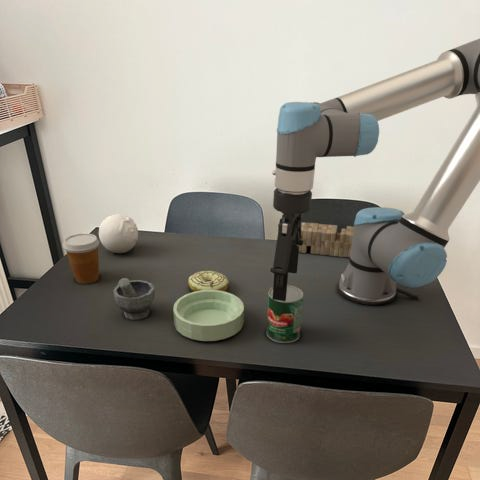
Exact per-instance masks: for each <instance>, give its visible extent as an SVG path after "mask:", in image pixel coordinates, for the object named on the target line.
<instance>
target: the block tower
mask: <svg viewBox="0 0 480 480" xmlns="http://www.w3.org/2000/svg"><path fill="white" fill-rule="evenodd" d="M353 231H354V226H351V225H347V226H346V228H341V230H340V232H338V224H325V223H324V224H323V223H318V222H316V223H315V222H304V221H303V222H302V224H301V236H302V238H301V240H303V245H297V246H299V254H301V253H302V254H306V253H307V252H308V249H309V247H310V254H312V255H320V256H330V257H339V258H349V259H350V252H351V245H352V238H353Z"/></svg>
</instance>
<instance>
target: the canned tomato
mask: <svg viewBox="0 0 480 480" xmlns="http://www.w3.org/2000/svg"><path fill="white" fill-rule="evenodd" d="M267 299H268V300H267V310H266V311H267V314H266V315H267V316H266V332H265V333H266V337H268V339H270V340H271V341H273V342H275V343H280V344H291V343H295V342H296V341H297V340H299V338H300V337H301V328H302V327H301V326H302V314H303V302H304V292H303V290H302V289H300V288H299V287H297V286H294V285H290V284H287V293H286V301H280V300H274V299H273V286H272V287H270V288H269V290H268V292H267Z"/></svg>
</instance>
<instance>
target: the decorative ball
mask: <svg viewBox="0 0 480 480" xmlns="http://www.w3.org/2000/svg"><path fill="white" fill-rule="evenodd" d="M98 237H99V242H100V243H101V245H102V246H103V247H104V248H105V249H106V250H107V251H109V252H111V253H114V254H124V253H128V252H129V251H131V250H132V249H133V248H134V247H135V246H136V244H137V243H138V239H139V229H138V226H137V224H136V222H135V221H134V220H133V218H132V217H130V216H127V215H124V214H119V213H118V214H111V215H109V216H106V218H104V219H103V220H102V221H101V223H100V225H99V228H98Z"/></svg>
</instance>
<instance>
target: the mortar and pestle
mask: <svg viewBox="0 0 480 480" xmlns="http://www.w3.org/2000/svg"><path fill="white" fill-rule="evenodd" d="M155 290H156V289H155V287H154V285H153V284H152V283H151V282H149V281H146V280H142V279H135V280H130V279H129V278H127V277H122V278H121V279H119V281H118V283H117V285H116V286H115V287H114V288H113V290H112V293H113V297H114V300H115V303H116V304H117V306H118V307H119V308H120V309H121V311H123V315H124V316H125V317H124V318H126V319H128V320H132V321H135V320H142V319H144V318H147V317H148V315H149V314H150V308H151V306H152V304H153V302H154V300H155V294H156V291H155Z"/></svg>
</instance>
